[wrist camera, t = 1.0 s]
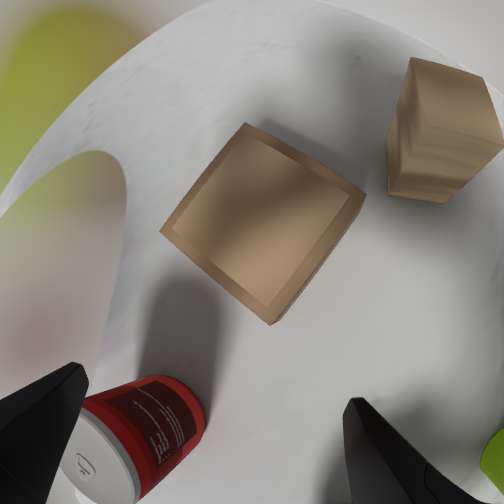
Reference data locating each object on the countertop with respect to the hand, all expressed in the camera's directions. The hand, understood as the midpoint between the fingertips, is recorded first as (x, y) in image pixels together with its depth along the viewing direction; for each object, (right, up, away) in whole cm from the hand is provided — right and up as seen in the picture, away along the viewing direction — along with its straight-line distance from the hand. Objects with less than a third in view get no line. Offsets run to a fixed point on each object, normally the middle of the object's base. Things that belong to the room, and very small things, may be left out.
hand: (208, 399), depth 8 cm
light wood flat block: (+3, +7, +14) cm, 15 cm away
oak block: (+15, +11, +12) cm, 22 cm away
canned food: (-6, -10, +14) cm, 18 cm away
